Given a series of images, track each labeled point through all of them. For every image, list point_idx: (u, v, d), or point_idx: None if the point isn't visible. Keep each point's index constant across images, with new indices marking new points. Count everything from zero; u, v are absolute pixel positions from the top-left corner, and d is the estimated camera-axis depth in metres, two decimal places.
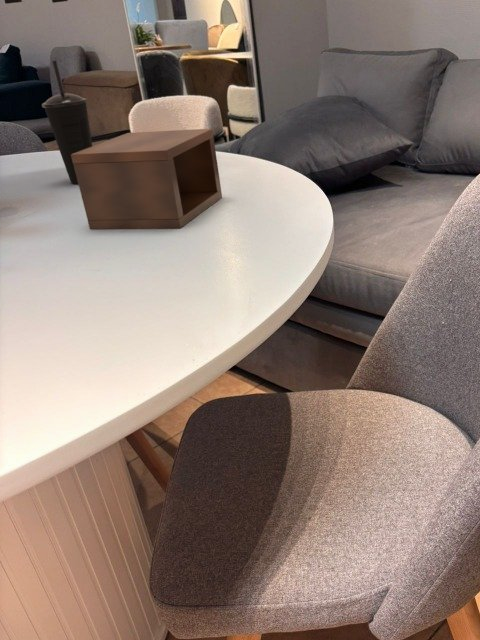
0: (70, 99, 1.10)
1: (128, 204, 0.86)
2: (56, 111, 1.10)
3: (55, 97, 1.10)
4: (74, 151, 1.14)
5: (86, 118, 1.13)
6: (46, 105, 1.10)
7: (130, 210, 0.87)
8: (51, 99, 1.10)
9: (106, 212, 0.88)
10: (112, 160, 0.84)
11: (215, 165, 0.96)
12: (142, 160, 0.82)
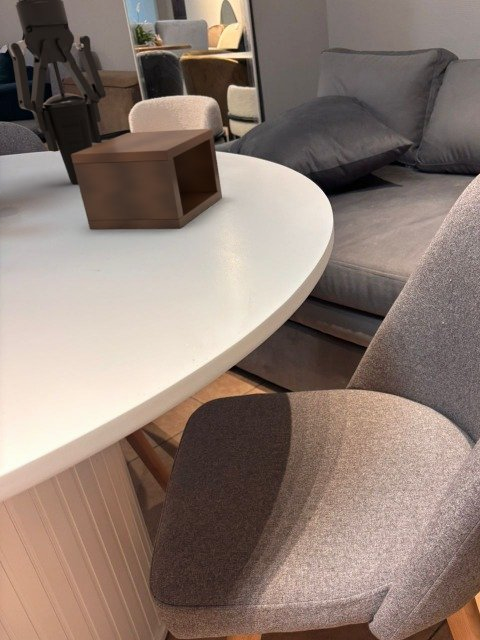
0: (70, 99, 1.10)
1: (128, 204, 0.86)
2: (56, 111, 1.10)
3: (55, 97, 1.10)
4: (74, 151, 1.14)
5: (86, 118, 1.13)
6: (46, 105, 1.10)
7: (130, 210, 0.87)
8: (51, 99, 1.10)
9: (106, 212, 0.88)
10: (112, 160, 0.84)
11: (215, 165, 0.96)
12: (142, 160, 0.82)
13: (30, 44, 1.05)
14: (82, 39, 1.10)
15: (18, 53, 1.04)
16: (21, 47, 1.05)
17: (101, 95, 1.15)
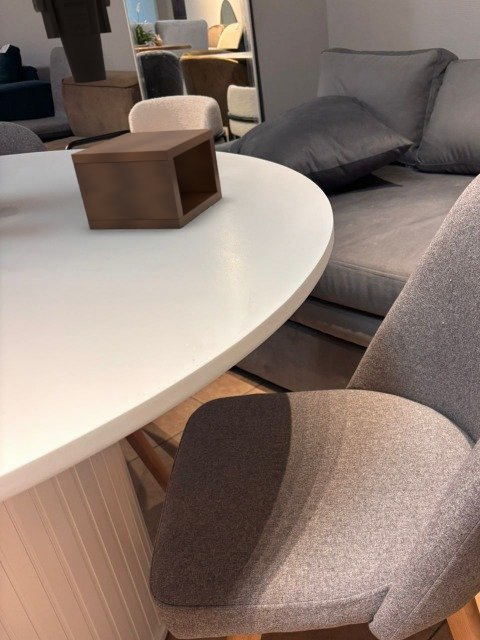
0: None
1: (128, 204, 0.86)
2: None
3: None
4: (79, 39, 0.93)
5: None
6: None
7: (130, 210, 0.87)
8: None
9: (106, 212, 0.88)
10: (112, 160, 0.84)
11: (215, 165, 0.96)
12: (142, 160, 0.82)
13: None
14: None
15: None
16: None
17: None
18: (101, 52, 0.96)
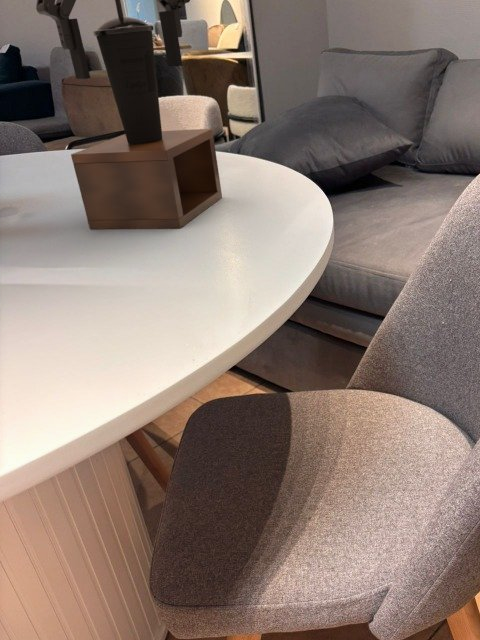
0: (133, 23, 0.80)
1: (128, 204, 0.86)
2: (114, 39, 0.80)
3: (112, 21, 0.80)
4: (135, 97, 0.84)
5: (152, 52, 0.83)
6: (100, 31, 0.80)
7: (130, 210, 0.87)
8: (106, 24, 0.80)
9: (106, 212, 0.88)
10: (112, 160, 0.84)
11: (215, 165, 0.96)
12: (142, 160, 0.82)
13: None
14: None
15: None
16: None
17: (185, 0, 0.85)
18: (158, 110, 0.87)
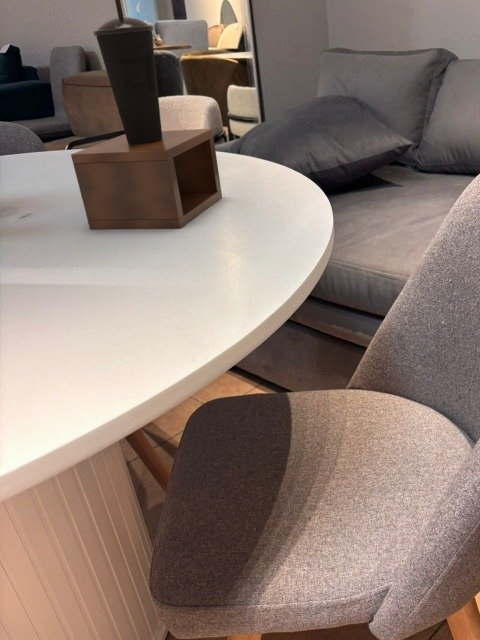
0: (133, 23, 0.80)
1: (128, 204, 0.86)
2: (113, 39, 0.80)
3: (112, 21, 0.80)
4: (135, 97, 0.84)
5: (152, 52, 0.83)
6: (100, 31, 0.80)
7: (130, 210, 0.87)
8: (106, 24, 0.80)
9: (106, 212, 0.88)
10: (112, 160, 0.84)
11: (215, 165, 0.96)
12: (142, 160, 0.82)
13: None
14: None
15: None
16: None
17: None
18: (158, 110, 0.87)
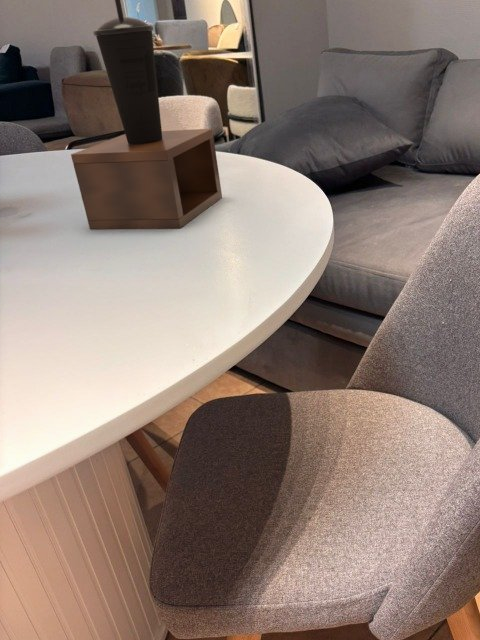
0: (133, 23, 0.80)
1: (128, 204, 0.86)
2: (113, 39, 0.80)
3: (112, 21, 0.80)
4: (135, 97, 0.84)
5: (152, 52, 0.83)
6: (100, 31, 0.80)
7: (130, 210, 0.87)
8: (106, 24, 0.80)
9: (106, 212, 0.88)
10: (112, 160, 0.84)
11: (215, 165, 0.96)
12: (142, 160, 0.82)
13: None
14: None
15: None
16: None
17: None
18: (158, 110, 0.87)
